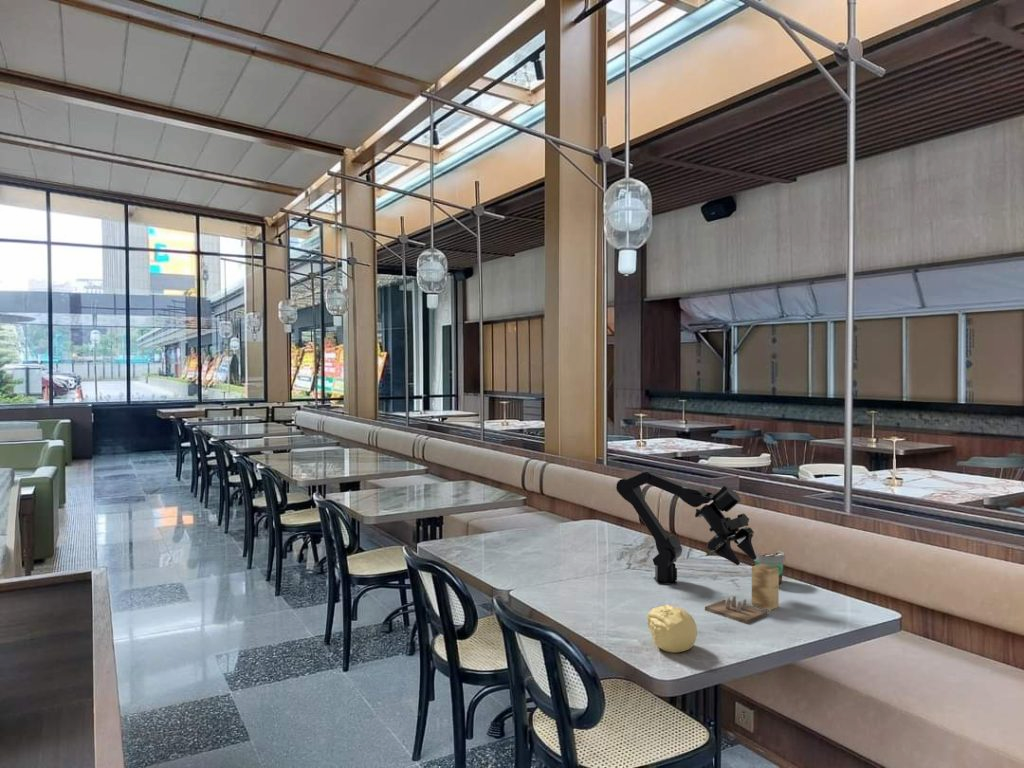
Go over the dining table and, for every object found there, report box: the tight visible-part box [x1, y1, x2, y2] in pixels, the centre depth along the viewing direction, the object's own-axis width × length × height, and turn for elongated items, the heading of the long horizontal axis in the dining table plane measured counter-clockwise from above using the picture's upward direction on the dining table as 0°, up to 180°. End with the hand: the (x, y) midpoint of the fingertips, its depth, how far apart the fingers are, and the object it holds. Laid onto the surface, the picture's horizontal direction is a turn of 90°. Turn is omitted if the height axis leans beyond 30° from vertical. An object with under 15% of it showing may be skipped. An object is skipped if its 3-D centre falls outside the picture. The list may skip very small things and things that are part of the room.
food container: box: [752, 550, 786, 586], centre depth 224 cm, size 12×6×10 cm, turn 117°
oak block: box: [751, 564, 780, 611], centre depth 202 cm, size 6×5×12 cm
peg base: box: [704, 595, 769, 625], centre depth 197 cm, size 14×11×4 cm
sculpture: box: [646, 604, 698, 654], centre depth 172 cm, size 12×12×11 cm
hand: (747, 561), depth 207 cm, fingers open, 9 cm apart
